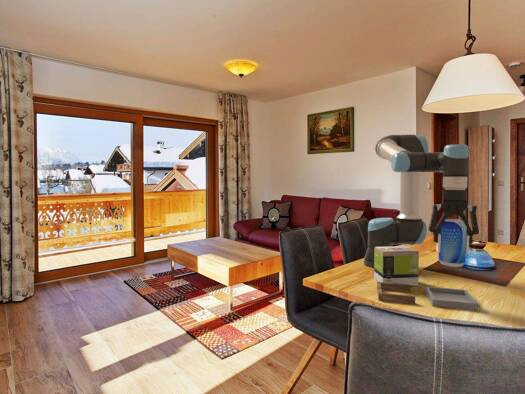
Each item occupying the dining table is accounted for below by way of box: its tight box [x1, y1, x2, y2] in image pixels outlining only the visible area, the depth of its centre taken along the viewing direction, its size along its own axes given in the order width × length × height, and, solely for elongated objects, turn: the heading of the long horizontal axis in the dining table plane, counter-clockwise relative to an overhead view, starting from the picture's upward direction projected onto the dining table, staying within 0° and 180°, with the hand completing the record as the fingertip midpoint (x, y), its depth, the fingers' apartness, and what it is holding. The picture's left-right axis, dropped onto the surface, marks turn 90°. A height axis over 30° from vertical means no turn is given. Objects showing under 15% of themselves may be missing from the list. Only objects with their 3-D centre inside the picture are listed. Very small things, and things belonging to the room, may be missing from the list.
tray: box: [424, 285, 480, 312], centre depth 120 cm, size 14×14×2 cm
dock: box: [376, 281, 416, 305], centre depth 126 cm, size 13×12×2 cm
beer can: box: [438, 218, 467, 268], centre depth 119 cm, size 8×8×16 cm
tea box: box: [373, 245, 420, 287], centre depth 140 cm, size 15×10×15 cm
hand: (452, 252), depth 119 cm, fingers closed on beer can, 8 cm apart
